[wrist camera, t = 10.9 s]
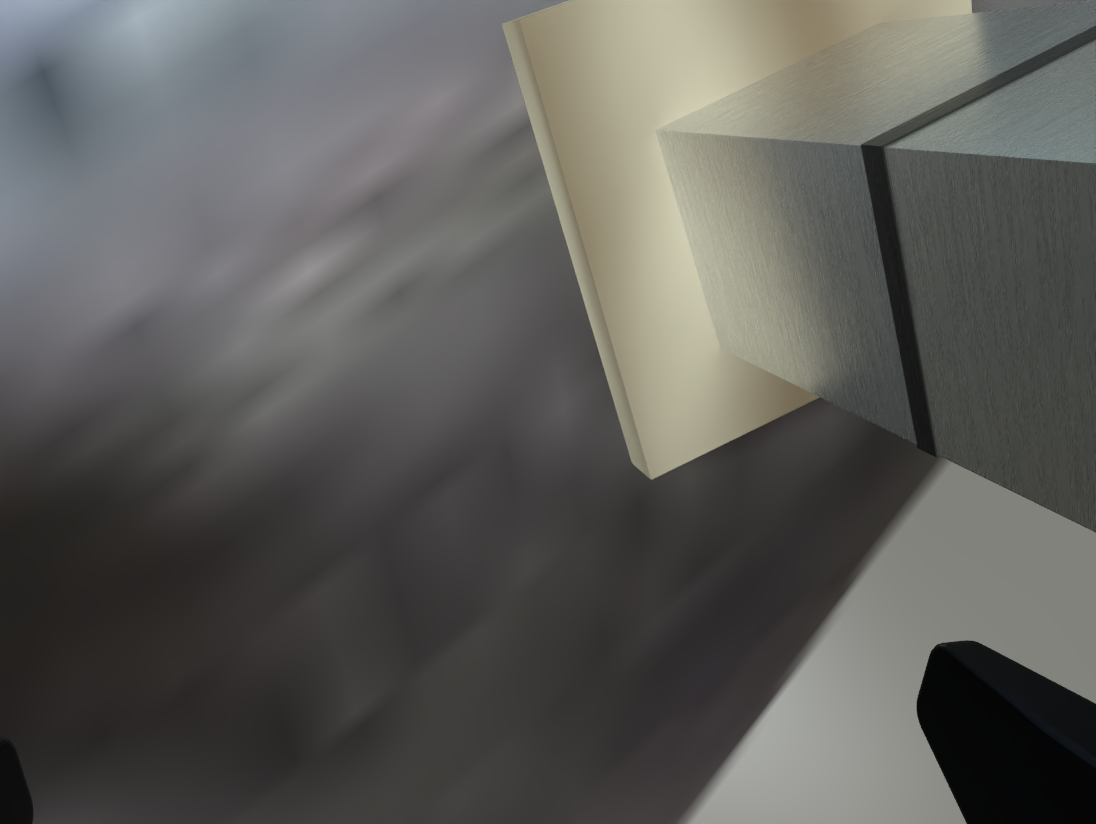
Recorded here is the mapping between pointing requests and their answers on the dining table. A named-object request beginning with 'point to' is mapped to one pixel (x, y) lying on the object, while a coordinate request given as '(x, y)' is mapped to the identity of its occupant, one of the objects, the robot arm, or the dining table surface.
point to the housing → (917, 236)
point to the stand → (662, 189)
